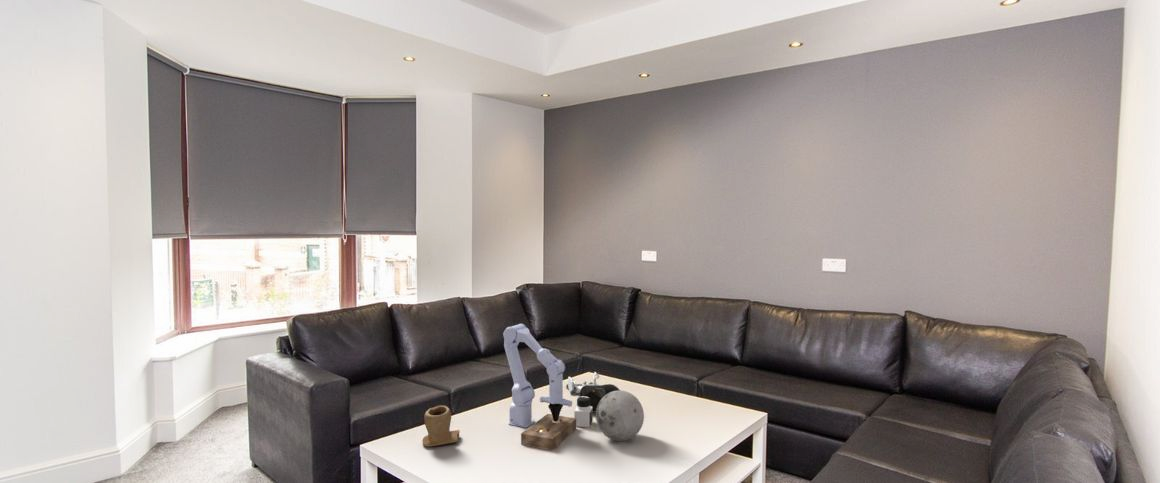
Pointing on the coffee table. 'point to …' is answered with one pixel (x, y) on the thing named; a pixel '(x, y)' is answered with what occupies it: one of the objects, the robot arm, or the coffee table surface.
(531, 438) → the socket block
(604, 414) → the moon model
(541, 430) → the peg near
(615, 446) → the coffee table surface
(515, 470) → the coffee table surface
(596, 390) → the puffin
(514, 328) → the robot arm
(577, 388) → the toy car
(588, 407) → the medicine bottle
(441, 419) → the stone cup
